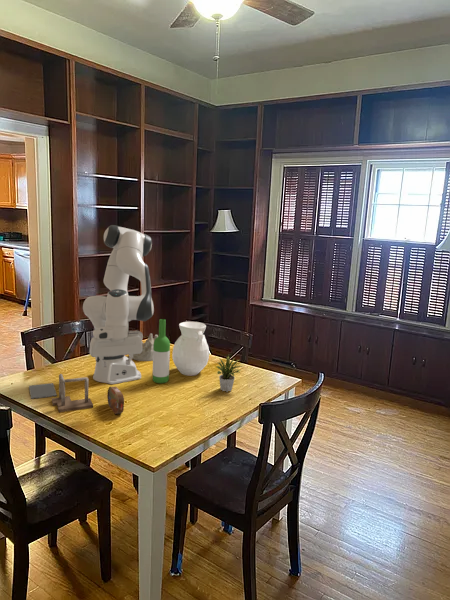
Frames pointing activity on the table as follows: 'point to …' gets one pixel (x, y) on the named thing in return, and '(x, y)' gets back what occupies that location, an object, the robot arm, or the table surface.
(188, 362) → the white ceramic vase
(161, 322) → the wine bottle
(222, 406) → the table surface
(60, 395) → the buzz wire frame
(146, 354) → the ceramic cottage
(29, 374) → the table surface
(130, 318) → the robot arm
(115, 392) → the tin
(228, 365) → the house plant
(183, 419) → the table surface
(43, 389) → the mat
